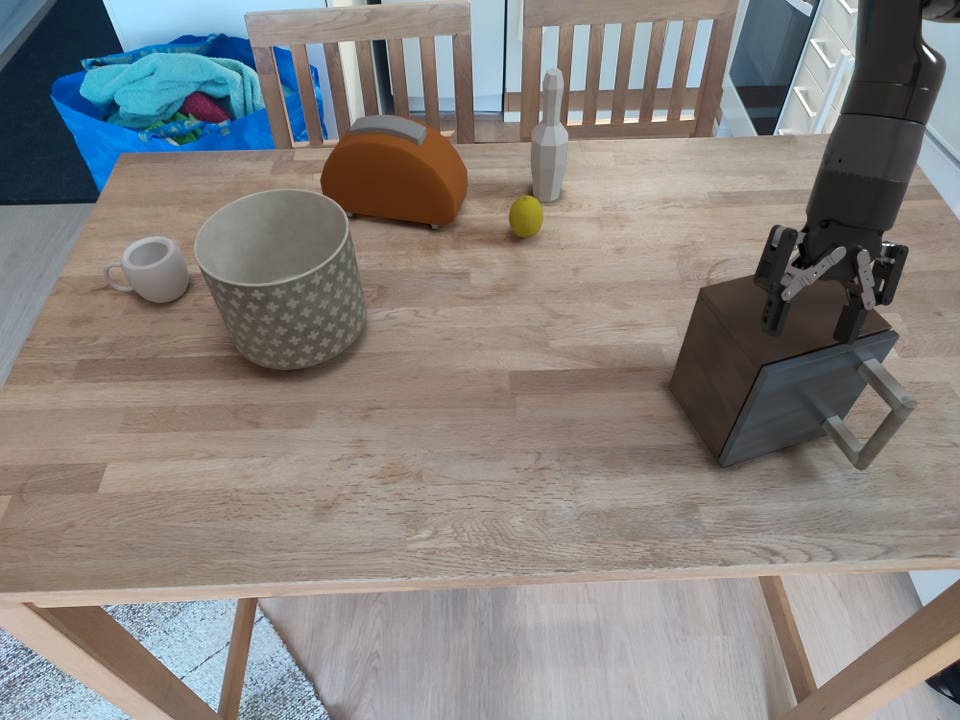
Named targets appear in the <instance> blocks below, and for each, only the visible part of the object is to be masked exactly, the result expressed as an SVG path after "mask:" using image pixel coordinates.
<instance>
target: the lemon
mask: <svg viewBox="0 0 960 720" xmlns="http://www.w3.org/2000/svg"><path fill="white" fill-rule="evenodd" d="M508 223H509V227H510V229H511V231H512V232H513V233H514V234H515V235H516V236H517V237H520V238H524V239H528V238H532V237H534V236H535V235H537V234H538V233H539V231H540V230H541V229H542V225H543V223H544V210H543V207H542V204H541V201H539V200H538V199H536V198H535V197H534V196H532V195H527V194H526V195H521V196H519V197H517V198H516V199H514V200H513V202H512V204H511V206H510V208H509V213H508Z"/></svg>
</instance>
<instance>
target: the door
mask: <svg viewBox="0 0 960 720" xmlns="http://www.w3.org/2000/svg"><path fill="white" fill-rule="evenodd" d="M900 338H901V335H900V334H899V333H898V332H897V331H896V330H895V329H891V330H890V331H888V332H884V333H881V334H877V335H874V336H870V337H867V338H863V339H860V340H856V341H854V343H853V344H852V345H847V344H842V345H839V346H835V347H832V348H828V349H825V350H821V351H817V352H814V353H810V354H807V355H803V356H800V357H796V358H793V359H789V360H786V361H782V362H779V363H775V364H772V365H768V366H765V367H763V368H762V370H761V372H760V374H759V376H758V378H757V380H756V382H755V384H754V386H753V389H752V391H751V393H750V395H749V397H748V399H747V401H746V403H745V405H744V407H743V410H742V412H741V414H740V416H739V418H738V420H737V422H736V424H735V426H734V428H733V431H732V433H731V435H730V437H729V439H728V441H727V443H726V445H725V447H724V449H723V452H722V454H721V456H720V458H719V459H717V461H718V463H719V465H720V466H721V468H724V467H728V466H731V465H734V464H737V463H741V462H744V461H747V460H750V459H754V458H757V457H760V456H763V455H766V454H769V453H773V452H776V451H779V450H782V449H786V448H788V447H792V446H795V445H799V444H802V443H804V442H807V441H811V440H814V439H817V438H820V437H825V436H827V435H828V436H829V437H830V439H831V440H832V441H833V442H834V444H835V445H836V447H838V448H839V450H840V451H841V452H842V453H843V454H844V456H845V457H846V458H847V459H848V461H849V462H850V464H851V465H852V466H853V467H854V469H856V470H858V471H866V470H867V469H868V468H869V466H870V465H871V464H872V463H873V462H874V460H875V459H876V458H877V457H878V455H879V454H880V453H882V451H883V449H884V448H885V447H886V445H888V443H889V442H890V441H891V440H892V438H893V437H894V436H895V434H896V433H897V432H898V431H899V429H900V428H901V427H902V426H903V424H904V423H905V422H906V421H907V419H908V418H909V417H910V416H911V415H912V413H913V412H914V411H915V410H916V408H917V407H918V401H917V399H915V398H914V397H913V396H912V394H910V392H909V391H908V390H907V389H906V388H905V387H904V386H902V384H901V383H900V382H899V381H898V380H897V379H896V378H895V377H894V376H893V375H892V373H890V372H889V370H887V369H886V367H884V366H883V363H884V361H885V360H886V358H887V356H888V355H889V353H890V352H891V350H892V349H893V348H894V346H895V345H896V344H897V342H898V340H899V339H900ZM867 385H869V386H870V387H871V388H872V390H873V391H875V393H876V394H877V395H878V396H879V397H880V398H881V399H882V400H883V401H884V403H886V404H887V406H888V407H889V408H890V409H891V410H890V411H889V413H888V414H887V416H885V418H884V419H883V420H882V422H881V423H880V425H879V426H878V427H877V428H876V430H875V431H874V432H873V434H872V435H871V437H869V439H868V440H867V441H866V443H865V444H864V445H863V444H862V442H860V440H859V439H858V438H857V437H856V436H855V434H854V433H853V432H852V431H851V430H850V429H849V427H848V426H847V425H846V423H844V419H845V418H846V417H847V415H848V413H849V412H850V411H851V409H852V408H853V406H854V404H855V403H856V402H857V400H858V399H859V397H860V396H861V394H862V393H863V391H864V390H865V388H866V387H867Z"/></svg>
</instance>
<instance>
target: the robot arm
mask: <svg viewBox="0 0 960 720" xmlns="http://www.w3.org/2000/svg"><path fill="white" fill-rule="evenodd" d="M923 20H924V21H927V22H931V23H938V24H960V0H857V18H856V35H855V46H854V47H855V49H854V50H855V51H854V53H855V55H854V68H853V72H852V74H851V78H850V81H849V84H848V86H847V89H846V92H845V95H844V99H843V102H842V105H841V107H840V111H839V115H838V117H837V119H836V122H835V124H834V126H833V128H832V131H831V132H830V135H829V137H828V140H827V142H826V145H825V147H824V151H823V154H822V158H821V160H820V164H819V167H818V169H817V173H816V176H815V180H814V183H813V186H812V189H811V191H810V195H809V198H808V201H807V204H806V207H805V214H806V221H805V223H804V226H803V227H802V228H801V229H800V230H797V229H795V228H792V227H789V226H785V225H782V224H774V225H773V226H772V227H771V228H770V230H769V233H768V237H767V239H766V242H765V245H764V248H763V250H762V253H761V256H760V258H759V262H758V264H757V266H756V270H755V272H754V274H755V275H754V278H753V283H754V285H756V286H758V287H760V288H762V289H763V290H765V291H766V292H767V300H766V303H765V307H764V310H763V313H762V316H761V319H760V326H761V327H762V328H761V329H762V332H763V333H765V334H767V335H769V336H771V337H780V336H781V333H782V330H783V327H784V324H785V321H786V318H787V315H788V312H789V309H790V306H791V303H792V302H790V301H788V300H790V299H791V298H792V297H793V296H794V295H795V294H797V293H798V292H799V291H800V290H801V289H802V288H803V287H805V286H809V285H811V284H812V283H814V282H815V281H816V280H817V279H819V280H824V281H830V280H835V281H838V282H840V284H841V285H842V286H843V287H844V289H845V293H846V297H847V300H848V302H849V304H844V306H843V308H842V311H841V314H840V317H839V320H838V322H837V325H836V328H835V331H834V334H833V338H834V340H836V341H838V342H840V343H842V344H847V345H852V344H853V343H854V341H855V340H856V339H857V338H858V336H859V335H860V332H861V329H862V327H863V324H864V321H865V319H866V316H867V313H868V311H869V310H871V309H873V308H874V309H875V307H877V306H878V307H879V306H884V307H887V306H890V305H891V304H892V303H893V301H894V297H895V295H896V293H897V289H898V288H897V287H898V285H899V282H900V279H901V277H902V274H903V271H904V267H905V264H906V260H907V258H908V254H909V252H910V249H909V246H907V245H904V244H901V243H897V242H894V241H889V240H883V236H884V233H885V232H889V231H890V230H892V229H893V227H894V225H895V222H896V221H897V220H896V219H897V217H898V214H899V212H900V209H901V206H902V203H903V201H904V198H905V195H906V193H907V190H908V187H909V185H910V181H911V179H912V176H913V173H914V171H915V168H916V165H917V163H918V160H919V157H920V154H921V150H922V147H923V142H924V136H925V132H926V129H927V125H928V123H929V120H930V118H931V115H932V112H933V110H934V106H935V104H936V101H937V98H938V96H939V93H940V91H941V88H942V85H943V82H944V79H945V76H946V72H947V60H946V58H945V57H944V55H942V53H940V52H939V51H937V50H936V49H934V48H933V47H932V46H930V45H929V44H928V43H927V42H926V40H925V39H924V37H923ZM794 251H798V252H797V253H796V254H795V255H793V257H792V258H791V256H792V253H793V252H794ZM872 263H873V265H872V268H871V264H872ZM802 267H803V268H804V270H800V269H801V268H802ZM882 283H883V286H882ZM881 286H882V287H881ZM880 289H881V290H880Z"/></svg>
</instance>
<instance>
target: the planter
mask: <svg viewBox="0 0 960 720" xmlns="http://www.w3.org/2000/svg"><path fill="white" fill-rule="evenodd" d="M193 256H194V259H195V262H196V264H197V266H198V268H199V271H200V273H201V275H202V277H203V279H204V281H205V284H206V286H207V288H208V290H209V292H210V295H211V297H212V300H213V301H214V303H215V307H216V308H217V310H218V313H219V315H220V317H221V319H222V321H223V323H224V326H225V328H226V331H227V333H228V335H229V337H230V339H231V342H232V343H233V345H234V347H235V348H236V350H237V351H238V353H239V354H240V355H241V356H242V357H243V358H245V359H246V360H248V362H251V363H253V364H255V365H257V366H259V367H263V368H267V369H272V370H273V369H274V370H281V371H282V370H286V371H287V370H289V371H290V370H300V369H305V368H310V367H314V366H316V365H320V364H322V363H325V362H327V361H329V360H331V359H333V358H335V357H337V356H338V355H340V354H341V353H343V352H344V351H346V350H347V349H348V348H349V347H350V346H351V345H352V344H353V343H354V342H355V341H356V340H357V338H358V337H359V336H360V335H361V333H362V331H363V329H364V326H365V324H366V319H367V313H368V311H367V310H368V309H367V304H366V298H365V294H364V289H363V285H362V279H361V274H360V270H359V265H358V261H357V255H356V251H355V246H354V241H353V235H352V231H351V227H350V222H349V218H348V216H347V214H346V212H344V210H343V209H342V207H341V206H340V205H339V204H337V203H336V202H335V201H334V200H332V199H330V198H329V197H326V196H324V195H323V194H321V193H319V192H316V191H312V190H309V189H308V190H307V189H299V188H277V189H268V190H262V191H258V192H254V193H251V194H248V195H244V196H243V197H240V198H238V199H237V198H236V199H235V200H233V201H231V202H229V203H227V204H225V205H224V206H222V207H221V208H219V209H217V210H216V211H215V212H214V213H212V214H211V215H209V217H208V218H207V219H206V220H205V221H204V223H203V224H202V225H201V226H200V228H199V229H198V231H197V232H196V235H195V237H194V240H193Z"/></svg>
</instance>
